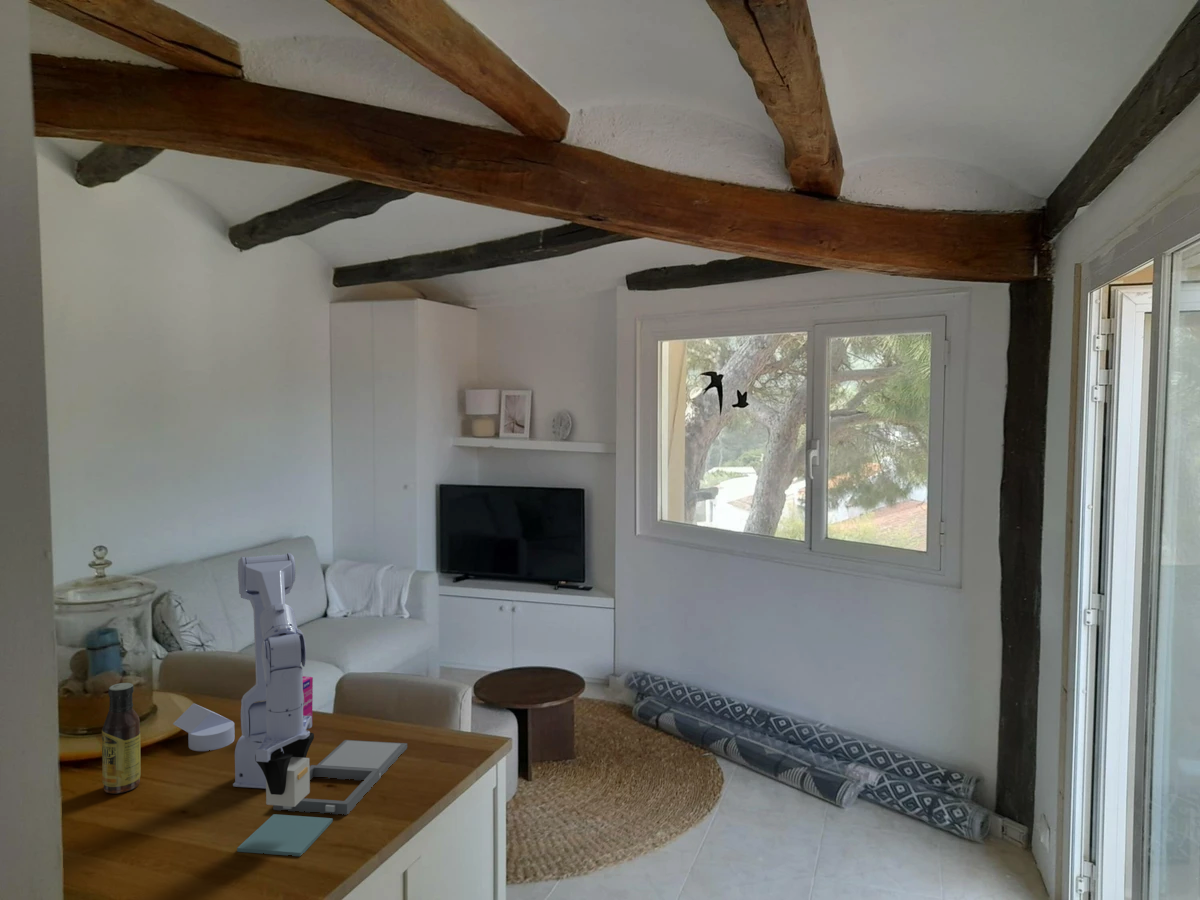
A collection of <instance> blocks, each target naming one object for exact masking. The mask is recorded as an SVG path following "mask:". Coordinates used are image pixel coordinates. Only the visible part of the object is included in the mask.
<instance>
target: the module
mask: <svg viewBox="0 0 1200 900" xmlns="http://www.w3.org/2000/svg"><path fill="white" fill-rule="evenodd" d="M310 766H311V765H310V757H306V758H301V757H291V759H290V762H289V765H288V769H287V775H286V787H285V791H284V793H283V794H282V795H275V794H271V793H270V790H269V787H268V783H267V780H266V789H265V795H266V797H265V799H266V800H265V804H266V805H268V806H273V805H278V806H291V807H295V806H296V805H297V804H298V803H299V802H300V801H301V800H302V799H303V798H305V797H307V796H308V795H309V794H310V793H311V784H310V783H311V781H310Z"/></svg>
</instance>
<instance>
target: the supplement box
mask: <svg viewBox="0 0 1200 900" xmlns="http://www.w3.org/2000/svg"><path fill="white" fill-rule="evenodd" d="M313 679H314V677H312V676H303V716H312V717H313V701H314V700H313V696H314V695H313V691H314V690H313V688H314V687H313V686H314V685H313V682H314V680H313Z"/></svg>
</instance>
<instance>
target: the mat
mask: <svg viewBox="0 0 1200 900" xmlns="http://www.w3.org/2000/svg"><path fill="white" fill-rule="evenodd" d="M333 820H334V819H333V818H330V817H321V816H320V817H318V816H302V815H291V814H290V815H288V814H277V813H276V814H274V813H273V814H272V815H271V816H270V817H269V818H268V819H267V820H265V822H263V824H261V825H260V826H259V827H258V828H257V829H256V830H254V832H253V833H252V834H250V836H249V837H247V838H246V839H245V840H244V841H243V842H242V843H241V844H240V845H239V846H237V848H236V852H239V853H252V854H263V853H264V854H265V855H278V856H288V855H292V857H300V856H301V855H302V854H303V853H304V854H305V853H306V852H307V851H308V849H309V848H310V847H311V846H312V845H313V844H314V843H315V842H316V840H317V839H318V838H319V837H320V836H321V835H322V834H323V833H324V832H325V831H326V830H327V829H328V827H330V825H331V824H332V823H333V822H334V821H333ZM304 854H303V855H304ZM303 855H302V856H303ZM302 856H301V857H302Z"/></svg>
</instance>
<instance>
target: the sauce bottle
mask: <svg viewBox="0 0 1200 900" xmlns="http://www.w3.org/2000/svg"><path fill="white" fill-rule="evenodd" d="M133 693H134V684H133V683H131V682H120V683H116V684H113V685H111V686H109V687H108V693H107V694H108V697H109V707H108V713H107V715H106V718H105V720H104V724H103V725H102V726H103V727H102V729H101V762H102V765H101V767H102V772H101V773H102V784H103V790H104V792H105V793H108V794H111V795H118V794H123V793H127V792H129V791H132V790H133V789H136V788H137V787H138V786H139V785H140V781H141V779H140V778H141V770H142V769H141V729H140V721H141V720H140V717H139V715H138V713H137V711H136V710H135V709H134V708H133V707H134V703H133Z"/></svg>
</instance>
